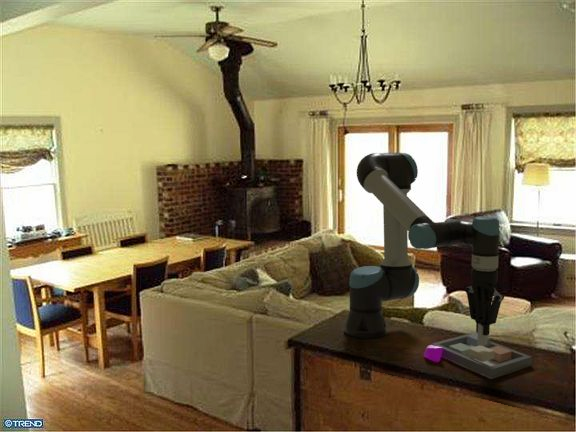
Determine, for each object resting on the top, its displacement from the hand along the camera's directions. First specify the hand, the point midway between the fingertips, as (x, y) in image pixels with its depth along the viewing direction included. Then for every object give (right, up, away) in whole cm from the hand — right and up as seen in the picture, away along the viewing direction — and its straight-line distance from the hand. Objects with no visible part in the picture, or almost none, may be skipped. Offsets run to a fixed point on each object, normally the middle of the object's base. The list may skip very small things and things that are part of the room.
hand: (482, 344), depth 165 cm
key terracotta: (+7, -5, +5) cm, 10 cm away
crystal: (-13, -7, +7) cm, 16 cm away
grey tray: (+1, -6, +7) cm, 9 cm away
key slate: (+3, -3, +12) cm, 12 cm away
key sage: (-4, -5, +8) cm, 10 cm away
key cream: (0, -4, +1) cm, 4 cm away
